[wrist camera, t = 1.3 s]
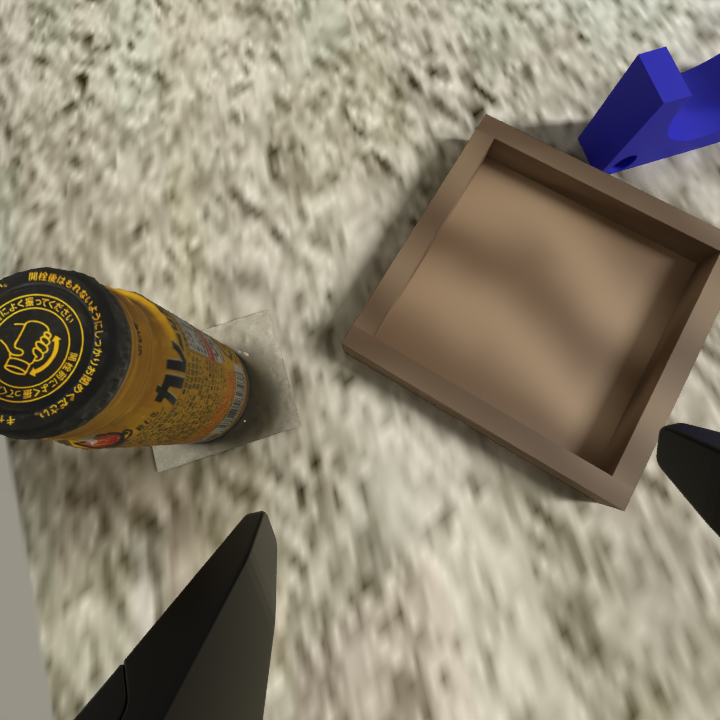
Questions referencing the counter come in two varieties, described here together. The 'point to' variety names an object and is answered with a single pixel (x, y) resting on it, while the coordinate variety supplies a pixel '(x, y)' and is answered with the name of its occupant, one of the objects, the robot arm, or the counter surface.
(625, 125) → the cable clip
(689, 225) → the dock holder
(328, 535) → the counter surface
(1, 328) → the condiment
